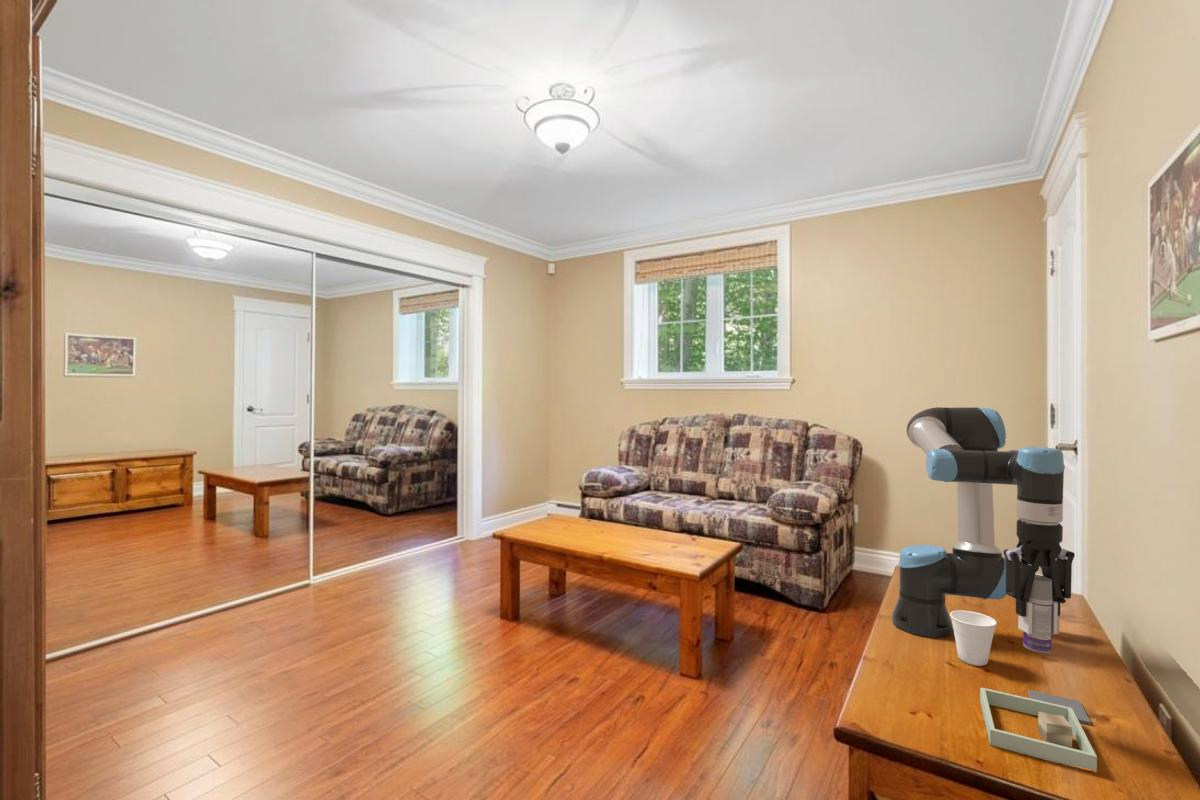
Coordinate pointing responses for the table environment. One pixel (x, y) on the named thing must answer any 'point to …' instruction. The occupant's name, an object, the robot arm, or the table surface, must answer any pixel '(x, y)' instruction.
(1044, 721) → the maple block
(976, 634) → the cup
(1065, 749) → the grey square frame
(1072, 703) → the pad
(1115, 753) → the table surface
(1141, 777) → the table surface
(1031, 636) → the container
